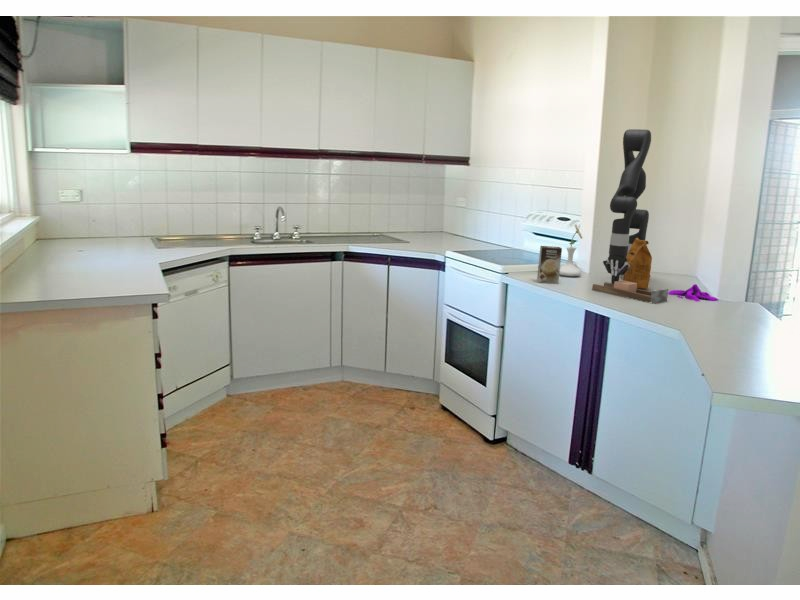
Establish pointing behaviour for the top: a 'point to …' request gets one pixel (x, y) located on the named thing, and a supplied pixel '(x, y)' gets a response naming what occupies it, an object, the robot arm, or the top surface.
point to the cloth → (693, 294)
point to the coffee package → (639, 264)
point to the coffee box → (549, 264)
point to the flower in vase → (570, 260)
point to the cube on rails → (640, 294)
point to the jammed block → (625, 286)
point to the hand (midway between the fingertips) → (614, 284)
